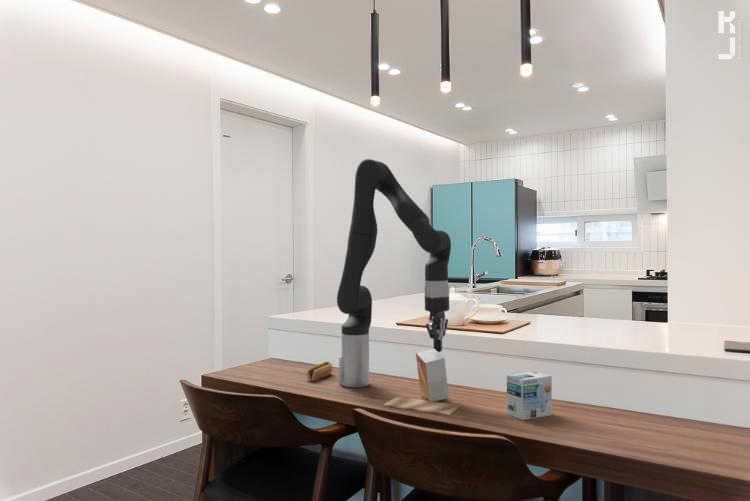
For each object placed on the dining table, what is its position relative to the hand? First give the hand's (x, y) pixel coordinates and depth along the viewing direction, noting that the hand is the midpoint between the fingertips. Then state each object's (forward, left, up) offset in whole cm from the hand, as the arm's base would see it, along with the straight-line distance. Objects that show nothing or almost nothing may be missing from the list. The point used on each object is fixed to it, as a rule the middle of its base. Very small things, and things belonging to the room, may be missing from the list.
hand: (437, 351), depth 163 cm
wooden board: (0, -12, -14) cm, 18 cm away
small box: (0, -3, -13) cm, 13 cm away
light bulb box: (+29, -6, -14) cm, 32 cm away
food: (-47, +4, -14) cm, 49 cm away
